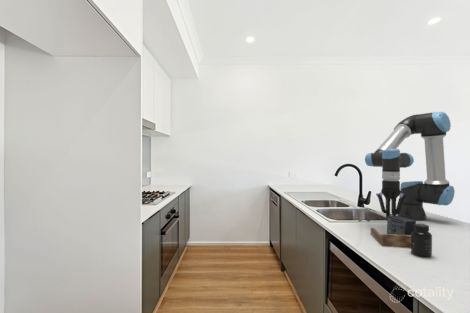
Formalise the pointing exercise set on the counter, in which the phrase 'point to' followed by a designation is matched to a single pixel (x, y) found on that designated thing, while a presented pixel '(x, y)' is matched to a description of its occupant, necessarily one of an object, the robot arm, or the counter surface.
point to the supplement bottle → (421, 241)
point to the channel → (392, 239)
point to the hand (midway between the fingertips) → (390, 227)
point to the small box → (400, 225)
